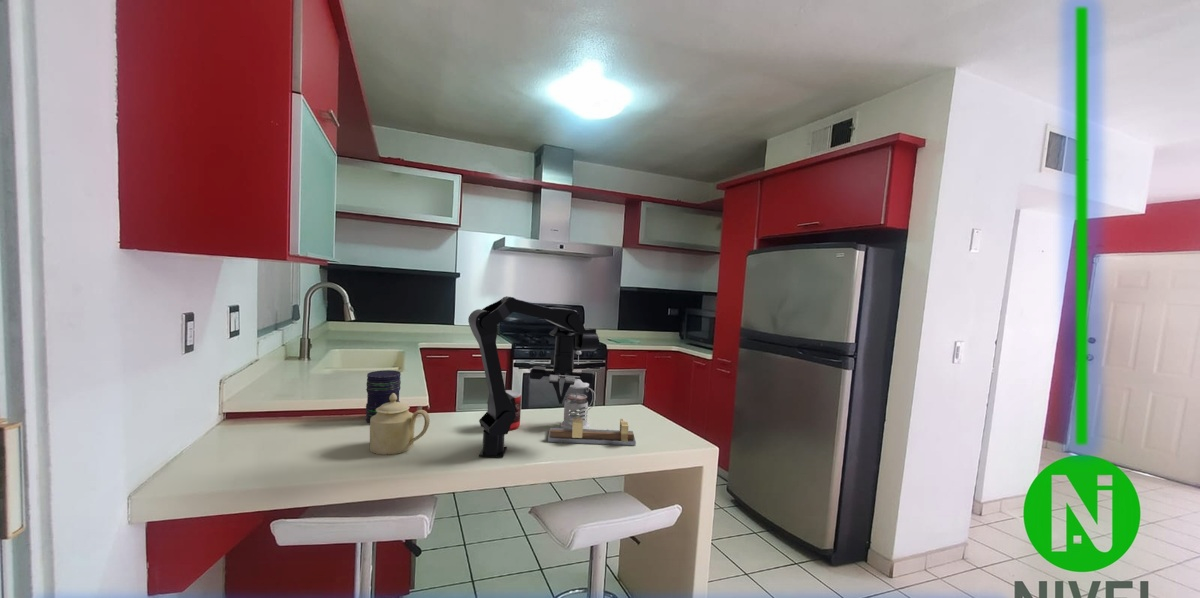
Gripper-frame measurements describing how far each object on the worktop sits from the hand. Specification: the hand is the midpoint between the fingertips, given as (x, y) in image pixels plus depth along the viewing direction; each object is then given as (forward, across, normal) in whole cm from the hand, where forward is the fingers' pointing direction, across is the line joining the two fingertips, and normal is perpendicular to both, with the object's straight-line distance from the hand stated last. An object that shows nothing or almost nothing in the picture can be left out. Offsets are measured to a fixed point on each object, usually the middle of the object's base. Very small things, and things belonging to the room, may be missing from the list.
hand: (560, 403), depth 131 cm
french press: (+11, -5, -16) cm, 20 cm away
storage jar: (+13, +57, -12) cm, 60 cm away
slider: (+10, -6, -3) cm, 12 cm away
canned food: (+12, +17, -10) cm, 23 cm away
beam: (+10, -10, -3) cm, 14 cm away
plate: (+11, -10, -4) cm, 15 cm away
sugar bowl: (+13, +43, +9) cm, 46 cm away
